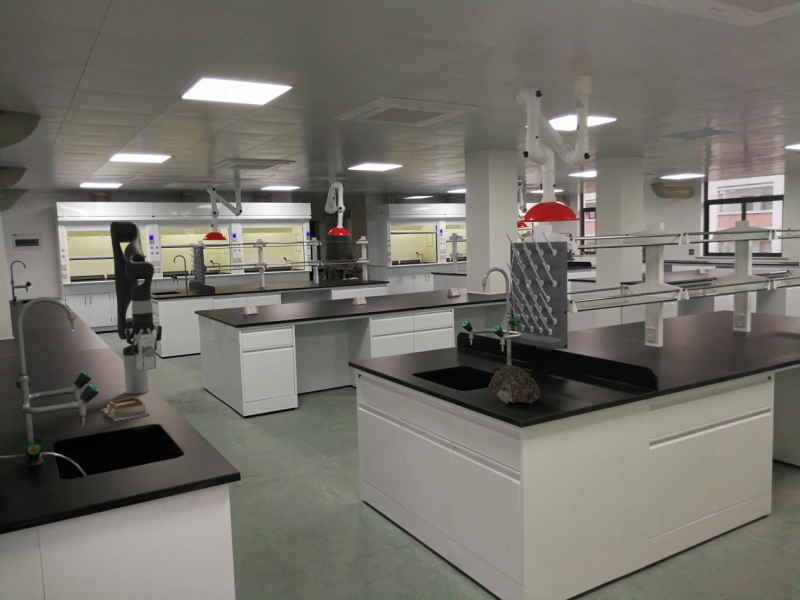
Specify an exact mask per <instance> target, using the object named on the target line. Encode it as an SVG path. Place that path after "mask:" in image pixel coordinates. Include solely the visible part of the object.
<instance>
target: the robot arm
mask: <svg viewBox="0 0 800 600" xmlns="http://www.w3.org/2000/svg"><path fill="white" fill-rule="evenodd" d="M109 230H110V232H109V233H110V239H111V248H112V255H113V268H114V269H113V271H114V272H113V273H114V285H115V296H116V305H117V306H116V309H117V310H116V314H117V320H116V321H117V322H116V324H117V326H116V327H117V334H118V338H119V340H122V341H124V340H126V343H127V344H129V345H128V346H125V347H124V348H123V349H122V354H123V355H122V358H123V367H124V368H123V370H124V371H123V372H124V386H125V394H126V395H139V394H145V393H147V392H149V375H148V373H149V372H148V370H144V371H142V370H138V369H136V360H135V354H138V347H137V342H138V340H139V337H138V336H139V335H141V334H154V333H153V331H154V330H155V331H156V336H155V352H156V351H157V349H158V347H157V346H158V345H157V344H158V343H157V342H159V341H161V340H162V334H163V326H162V325H159V324H158V325H155V324H154V315H153V311H154V309H153V303H152V292H151V291H152V290H151V289H152V282H153V278H154V273H155V267H154V265H153V263H152V262H150V261H146V256H145V254H144V251H143V249H142V247H143V246H142V241H141V239H142V238H141V233H140V228H139V226H138V224H137V222H136V221H131V220H130V221H126V220H124V221H123V220H122V221H121V220H120V221H112V222H110V228H109ZM121 243H122V244H125V243H127V245H126V246H125V248H124V251H123V249H122V246H121ZM139 280H143V282H142V283H141V284H139ZM130 304H131V315H132V317H127V311H128V308H129V306H130ZM134 334H136V335H137V337H135V336H134Z"/></svg>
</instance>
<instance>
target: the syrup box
mask: <svg viewBox="0 0 800 600" xmlns="http://www.w3.org/2000/svg"><path fill="white" fill-rule="evenodd" d="M134 336H135V337H137V335H136V334H134ZM138 337H139V340H138V342H137V347H138V354H135V360H136V369H138V370H142V371H144V370H147V371H148V370H150V371H151V370H154V369H157V360H156V351H155V338H156V336H155V333H153V334H141V335H139V336H138Z"/></svg>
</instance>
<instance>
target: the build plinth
mask: <svg viewBox="0 0 800 600" xmlns="http://www.w3.org/2000/svg"><path fill="white" fill-rule="evenodd" d="M146 409H147V408H146V404H145V403H144V401H143V400H141V399H140V398H138V397H137V396H133V397H127V398H123V399H115V400H109V401H108V404H106V408H102V409H101V412H102V411H103V413H104V414H105V415H106V414H107V415H108V416H107V415H106V416H107V417H109V418H110V417H111V418H112V419H113V420H112V419H111V418H110V419H111V420H112V421H114V420H115V421H119V420H124V421H126V420H125V419H129V420H131V419H130V418H134V419H136V418H135V417H139V418H142V417H141V416H144V417H148V416H147V415H149V416H150V412H148V411H147V410H146ZM115 421H114V422H115ZM119 422H120V421H119Z"/></svg>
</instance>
